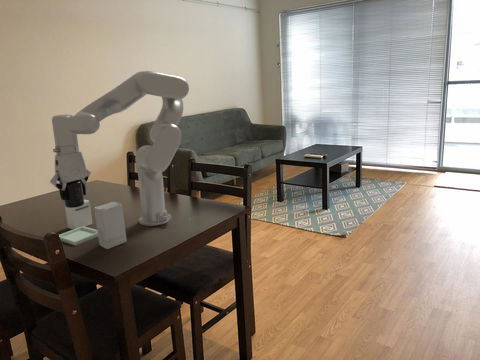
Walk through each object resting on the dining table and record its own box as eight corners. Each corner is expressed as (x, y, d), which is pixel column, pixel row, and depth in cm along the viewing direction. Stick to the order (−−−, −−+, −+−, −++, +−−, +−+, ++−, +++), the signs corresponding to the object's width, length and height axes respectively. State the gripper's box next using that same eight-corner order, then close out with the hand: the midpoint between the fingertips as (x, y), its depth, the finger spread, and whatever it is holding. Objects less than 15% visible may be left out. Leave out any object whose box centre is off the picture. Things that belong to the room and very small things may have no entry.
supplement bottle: (60, 207, 148) (56, 175, 145) (72, 202, 154) (68, 171, 151) (77, 208, 146) (73, 176, 143) (88, 202, 152) (84, 172, 149)
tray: (102, 235, 155) (101, 231, 155) (75, 245, 146) (75, 242, 145) (83, 229, 161) (82, 226, 161) (56, 239, 152) (56, 236, 151)
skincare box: (118, 238, 151) (114, 200, 147) (127, 242, 147) (123, 203, 143) (98, 245, 145) (93, 206, 141) (106, 250, 141) (101, 209, 137)
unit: (93, 223, 167) (90, 200, 165) (76, 230, 161) (72, 206, 158) (84, 221, 170) (81, 198, 168) (67, 227, 164) (64, 204, 161)
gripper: (51, 154, 136) (58, 205, 140) (94, 146, 150) (100, 192, 154) (38, 152, 140) (46, 202, 144) (81, 145, 154) (87, 190, 158)
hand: (73, 196), depth 149 cm, fingers closed on supplement bottle, 6 cm apart
